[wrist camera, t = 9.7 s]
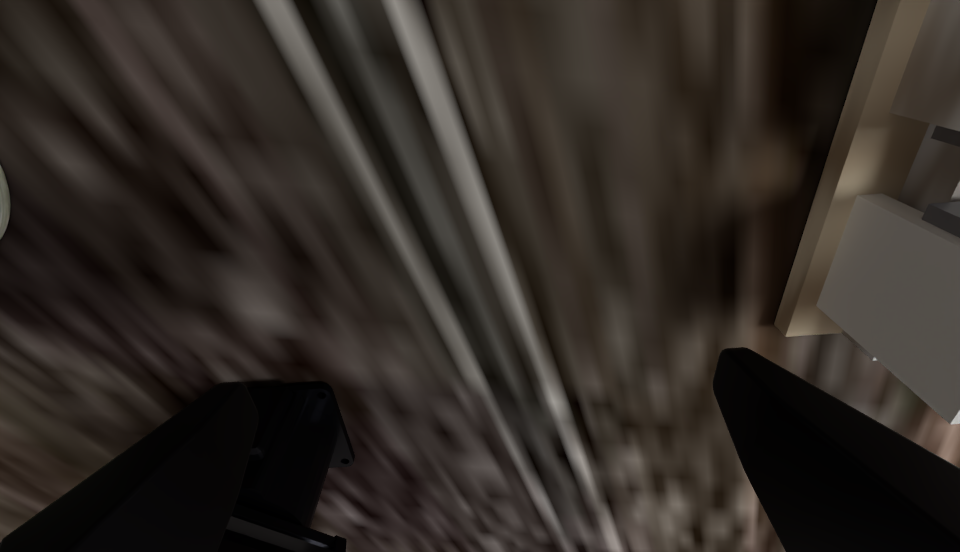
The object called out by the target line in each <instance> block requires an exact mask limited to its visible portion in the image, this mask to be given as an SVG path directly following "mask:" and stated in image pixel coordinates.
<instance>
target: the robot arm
mask: <svg viewBox="0 0 960 552" xmlns="http://www.w3.org/2000/svg"><path fill="white" fill-rule="evenodd" d="M713 390H714V394H715V397H716V399H717V402H718V405H719V407H720V410H721V412H722V415H723V417H724V420H725V423H726V425H727V428H728V430H729V433H730V436H731V438H732V441H733V443H734V446H735V448H736V451H737V454H738V456H739V459H740V461H741V463H742V466H743V468H744V471H745V473H746V475H747V477H748V479H749V481H750V483H751V485H752V487H753V489H754V491H755V493H756V495H757V496H758V498H759V500H760V502H761V504H762V506H763V508H764V510H765V512H766V514H767V516H768V518H769V520H770V522H771V524H772V526H773V527H774V529H775V531H776V533H777V535H778V537H779V539H780V541H781V543H782V545H783V547H784V549H785V551H786V552H960V468H958V467H957V466H955V465H953V464H951V463H950V462H948V461H946V460H944V459H943V458H941V457H939V456H937V455H935V454H934V453H932V452H930V451H928V450H927V449H925V448H923V447H921V446H920V445H918V444H916V443H914V442H913V441H911V440H909V439H907V438H906V437H904V436H902V435H900V434H898V433H897V432H895V431H893V430H891V429H890V428H888V427H886V426H884V425H883V424H881V423H879V422H877V421H876V420H874V419H872V418H870V417H869V416H867V415H865V414H863V413H861V412H860V411H858V410H856V409H854V408H853V407H851V406H849V405H847V404H846V403H844V402H842V401H840V400H839V399H837V398H835V397H833V396H832V395H830V394H828V393H826V392H824V391H823V390H821V389H819V388H817V387H816V386H814V385H812V384H810V383H809V382H807V381H805V380H803V379H802V378H800V377H798V376H796V375H795V374H793V373H791V372H789V371H787V370H786V369H784V368H782V367H780V366H779V365H777V364H775V363H773V362H772V361H770V360H768V359H766V358H765V357H763V356H761V355H759V354H758V353H756V352H754V351H752V350H750V349H748V348H744V347H741V348H727V349H724V350H722V352H721V353H720V356H719V359H718V363H717V367H716V371H715V375H714V379H713ZM321 392H323V393H321ZM354 458H355V455H354V452H353V449H352V446H351V443H350V440H349V437H348V434H347V431H346V428H345V425H344V422H343V419H342V416H341V413H340V410H339V407H338V404H337V401H336V398H335V395H334V392H333V389H332V388H331V386H329V385H327V384H324V383H319V384H304V385H289V386H274V387H259V388H247V387H246V386H245V385H244V384H243V383H242V382H226V383H220V384H218V385H216V386H215V387H213V388H212V389H210V390H209V391H208V392H206V393H205V394H203V395H202V396H201V397H199V398H198V399H196V400H195V401H194V402H192V403H191V404H190V405H188V406H187V407H185V408H184V409H183V410H181V411H180V412H178V413H177V414H176V415H174V416H173V417H171V418H170V419H169V420H167V421H166V422H164V423H163V424H162V425H160V426H159V427H158V428H156V429H155V430H153V431H152V432H151V433H149V434H148V435H146V436H145V437H144V438H142V439H141V440H139V441H138V442H137V443H135V444H134V445H132V446H131V447H130V448H128V449H127V450H126V451H124V452H123V453H121V454H120V455H119V456H117V457H116V458H114V459H113V460H112V461H110V462H109V463H107V464H106V465H105V466H103V467H102V468H100V469H99V470H98V471H96V472H95V473H94V474H92V475H91V476H89V477H88V478H87V479H85V480H84V481H82V482H81V483H80V484H78V485H77V486H75V487H74V488H73V489H71V490H70V491H68V492H67V493H66V494H64V495H63V496H61V497H60V498H59V499H57V500H56V501H55V502H53V503H52V504H50V505H49V506H48V507H46V508H45V509H43V510H42V511H41V512H39V513H38V514H36V515H35V516H34V517H32V518H31V519H29V520H28V521H27V522H25V523H24V524H23V525H21V526H20V527H18V528H17V529H16V530H14V531H13V532H11V533H10V534H9V535H7V536H6V537H5V538H3V540H2V542H1V543H0V552H346V539H345V538H342V537H339V536H337V535H336V536H335V537H333V536H330V535H327V534H324V533H322V532H319V531H316V530H313V529H310V527H311V523H312V520H313V517H314V514H315V510H316V507H317V504H318V501H319V497H320V494H321V491H322V488H323V484H324V481H325V478H326V475H327V472H328V468H333V467H347V466H351V465H352V464H353V462H354Z"/></svg>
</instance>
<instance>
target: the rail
mask: <svg viewBox="0 0 960 552" xmlns="http://www.w3.org/2000/svg"><path fill="white" fill-rule="evenodd" d="M880 193H882V194H885V195H887V196H889V197H891V198H893V199H895V200H897V201H900V202H902V203H904V204H906V205H908V206H910V207H912V208H915V209H917V210H919V211H921V212H923V213H925V211H926V208H927V206H928V204H933V203H946V202H959V201H960V0H878V1H877V4H876V7H875V10H874V14H873V17H872V20H871V23H870V26H869V29H868V32H867V35H866V38H865V42H864V45H863V48H862V51H861V54H860V57H859V60H858V63H857V67H856V70H855V73H854V76H853V79H852V82H851V85H850V88H849V92H848V95H847V98H846V101H845V104H844V107H843V110H842V113H841V116H840V120H839V123H838V126H837V129H836V132H835V135H834V138H833V141H832V145H831V148H830V151H829V154H828V157H827V160H826V163H825V166H824V170H823V173H822V176H821V179H820V182H819V185H818V188H817V191H816V195H815V198H814V201H813V204H812V207H811V210H810V213H809V216H808V219H807V223H806V226H805V229H804V232H803V235H802V238H801V241H800V244H799V248H798V251H797V254H796V257H795V260H794V263H793V266H792V269H791V273H790V276H789V279H788V282H787V285H786V288H785V291H784V294H783V297H782V301H781V304H780V307H779V310H778V313H777V316H776V319H775V322H774V325H775V326H776V327H777V328H778V329H779V330H780V331H781V332H782V334H783V335H784V336H785V337H789V336H803V335H818V334H833V333H842V334H843V335H844V336H846V337H847V338H848V339H849V340H850V341H851V342H852V343H853V344H854V345H856V346H857V347H858V348H859V349H860V350H861V351H862V352H863V353H865V354H866V355H867V356H868V357H869V358H870V359H871V360H877V359H876V358H875V357H873V356H872V355H871V354H870V353H869V352H868V351H867V350H865V349H864V348H863V347H862V346H861V345H860V344H859V343H858V342H856V341H855V340H854V339H853V338H852V337H851V336H850V335H849V334H847V333H846V332H845V331H844V330H843V329H842V328H841V327H839V326H838V325H837V324H836V323H835V322H834V321H833V320H832V319H830V318H829V317H828V316H827V315H826V314H825V313H824V312H822V311H821V310H820V309H819V308H818V307H817V306H816V305H817V302H818V299H819V297H820V294H821V291H822V289H823V286H824V283H825V281H826V278H827V275H828V272H829V270H830V267H831V264H832V262H833V259H834V256H835V254H836V251H837V248H838V245H839V243H840V240H841V237H842V235H843V232H844V229H845V226H846V224H847V221H848V218H849V216H850V213H851V210H852V208H853V205H854V202H855V199H856V197H857V195H867V194H880Z"/></svg>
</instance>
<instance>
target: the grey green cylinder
mask: <svg viewBox="0 0 960 552" xmlns="http://www.w3.org/2000/svg"><path fill="white" fill-rule="evenodd" d="M10 208H11V203H10V194H9V188H8V183H7V180H6V176H5V173H4V171H3V169H2V167H1V165H0V239H1V238H2V236H3V235H4V233H5V231H6V228H7V226H8V222H9V218H10Z"/></svg>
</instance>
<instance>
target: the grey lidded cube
mask: <svg viewBox="0 0 960 552" xmlns="http://www.w3.org/2000/svg"><path fill="white" fill-rule="evenodd" d="M816 306H817V307H818V308H819V309H820V310H821V311H822V312H824V313H825V314H826V315H827V316H828V317H829V318H830V319H832V320H833V321H834V322H835V323H836V324H837V325H838V326H839V327H841V328H842V329H843V330H844V331H845V332H846V333H847V334H849V335H850V336H851V337H852V338H853V339H854V340H855V341H856V342H858V343H859V344H860V345H861V346H862V347H863V348H864V349H865V350H867V351H868V352H869V353H870V354H871V355H872V356H873V357H875V358H876V359H877V360H878V361H879V362H880V363H881V364H882V365H884V366H885V367H886V368H887V369H888V370H889V371H890V372H892V373H893V374H894V375H895V376H896V377H897V378H898V379H899V380H901V381H902V382H903V383H904V384H905V385H906V386H907V387H909V388H910V389H911V390H912V391H913V392H914V393H915V394H916V395H918V396H919V397H920V398H921V399H922V400H923V401H924V402H925V403H927V404H928V405H929V406H930V407H931V408H932V409H933V410H935V411H936V412H937V413H938V414H939V415H940V416H941V417H942V418H944V419H945V420H946V421H947V422H948V423H949V424H960V201H959V202H946V203H933V204H928V206H927V208H926V211H925V213H923V212H921V211H919V210H917V209H915V208H912V207H910V206H908V205H906V204H904V203H902V202H900V201H897V200H895V199H893V198H891V197H889V196H887V195H885V194H882V193H880V194H867V195H857V197H856V199H855V202H854V205H853V208H852V210H851V213H850V216H849V218H848V221H847V224H846V226H845V229H844V232H843V235H842V237H841V240H840V243H839V245H838V248H837V251H836V254H835V256H834V259H833V262H832V264H831V267H830V270H829V272H828V275H827V278H826V281H825V283H824V286H823V289H822V291H821V294H820V297H819V299H818V302H817V305H816Z"/></svg>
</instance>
